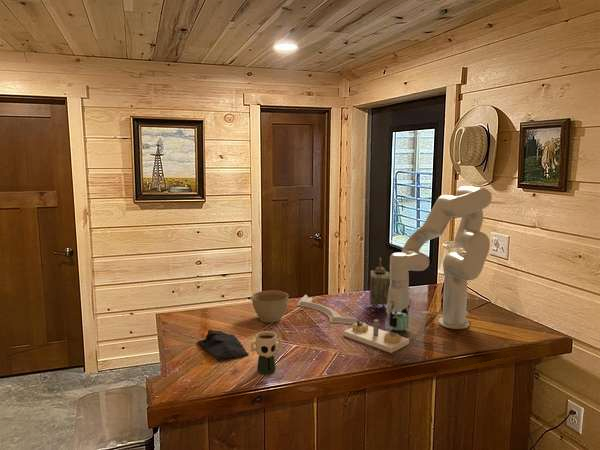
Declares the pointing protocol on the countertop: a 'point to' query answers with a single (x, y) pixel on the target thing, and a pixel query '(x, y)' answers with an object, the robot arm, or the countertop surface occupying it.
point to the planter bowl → (270, 305)
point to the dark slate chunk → (222, 345)
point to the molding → (326, 311)
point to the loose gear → (401, 321)
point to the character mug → (266, 351)
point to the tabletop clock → (379, 287)
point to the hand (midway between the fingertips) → (398, 323)
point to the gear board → (376, 336)
